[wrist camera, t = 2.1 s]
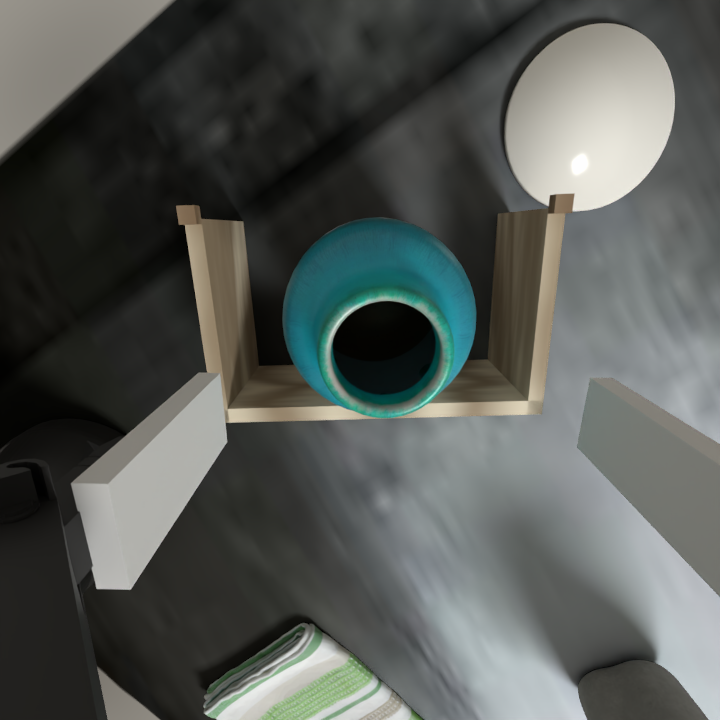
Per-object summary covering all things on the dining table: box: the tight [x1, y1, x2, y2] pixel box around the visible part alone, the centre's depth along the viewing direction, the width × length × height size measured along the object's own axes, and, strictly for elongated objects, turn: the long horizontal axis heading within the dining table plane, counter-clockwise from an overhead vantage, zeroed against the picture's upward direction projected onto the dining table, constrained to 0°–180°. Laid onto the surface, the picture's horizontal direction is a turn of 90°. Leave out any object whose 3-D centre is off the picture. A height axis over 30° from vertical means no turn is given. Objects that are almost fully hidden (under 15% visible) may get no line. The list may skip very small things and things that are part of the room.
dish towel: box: [204, 623, 423, 720], centre depth 48 cm, size 17×23×4 cm
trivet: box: [504, 23, 675, 211], centre depth 30 cm, size 12×12×1 cm
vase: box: [282, 217, 476, 418], centre depth 25 cm, size 11×11×19 cm
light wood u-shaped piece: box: [176, 193, 575, 423], centre depth 29 cm, size 22×14×10 cm, turn 92°
